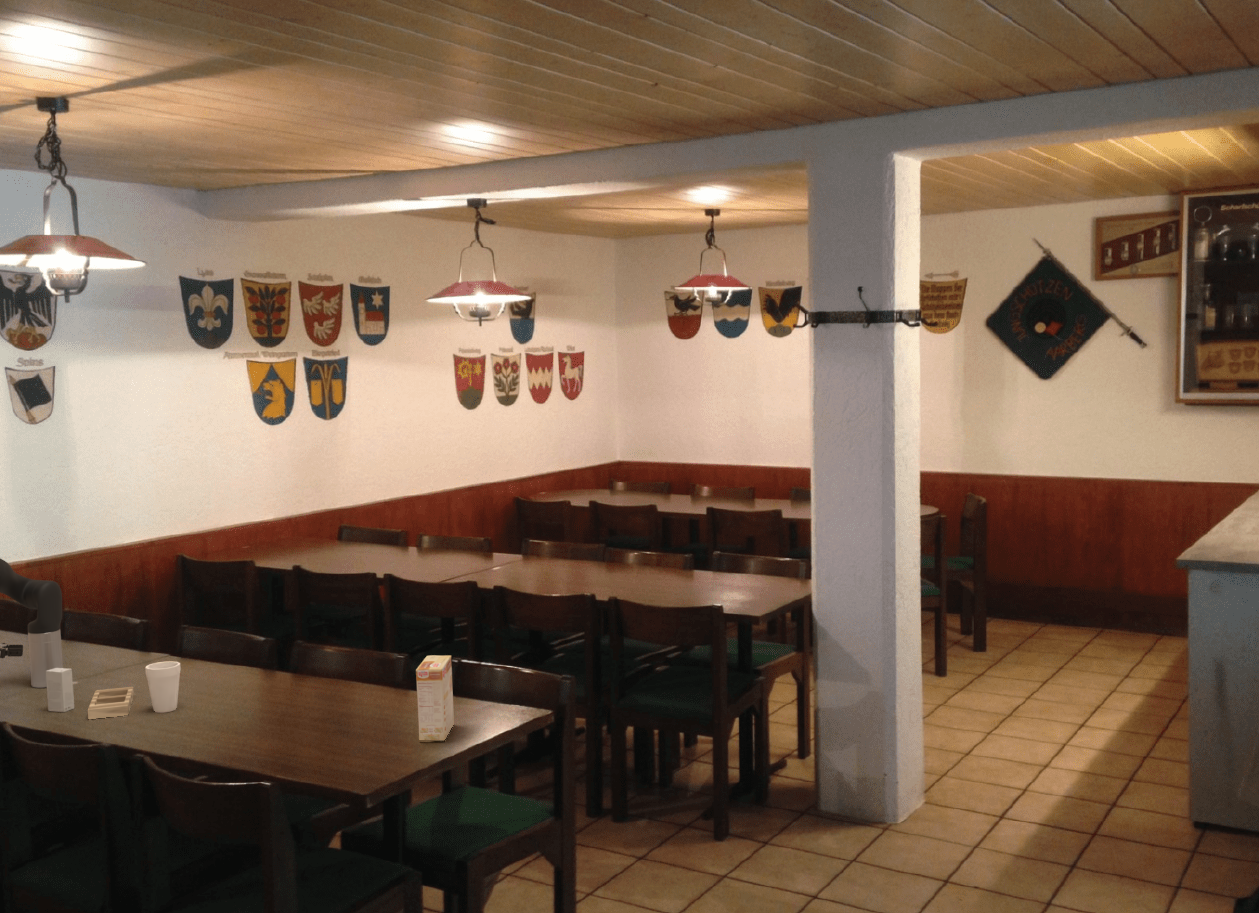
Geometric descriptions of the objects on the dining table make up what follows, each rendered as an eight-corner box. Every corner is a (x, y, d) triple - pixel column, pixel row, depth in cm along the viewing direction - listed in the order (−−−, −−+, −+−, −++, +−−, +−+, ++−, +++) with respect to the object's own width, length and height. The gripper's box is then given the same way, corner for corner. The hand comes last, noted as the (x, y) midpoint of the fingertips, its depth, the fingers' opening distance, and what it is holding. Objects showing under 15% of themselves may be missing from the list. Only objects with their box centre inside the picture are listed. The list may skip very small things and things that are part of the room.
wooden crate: (96, 700, 361) (95, 690, 361) (133, 696, 364) (133, 686, 364) (88, 720, 340) (87, 709, 340) (128, 716, 344) (127, 705, 343)
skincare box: (75, 708, 353) (72, 668, 352) (63, 712, 349) (61, 672, 348) (58, 707, 355) (56, 667, 354) (47, 711, 351) (44, 670, 350)
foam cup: (189, 706, 352) (187, 663, 351) (165, 715, 343) (162, 670, 342) (165, 703, 356) (163, 660, 355) (140, 712, 347) (138, 667, 346)
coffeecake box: (429, 725, 327) (426, 655, 326) (455, 725, 327) (452, 654, 325) (417, 743, 312) (414, 669, 311) (445, 742, 312) (442, 668, 310)
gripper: (-42, 640, 334) (24, 640, 342) (-39, 634, 347) (24, 634, 354) (-44, 667, 334) (21, 667, 341) (-41, 660, 347) (21, 660, 354)
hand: (22, 650), depth 348 cm, fingers open, 8 cm apart
